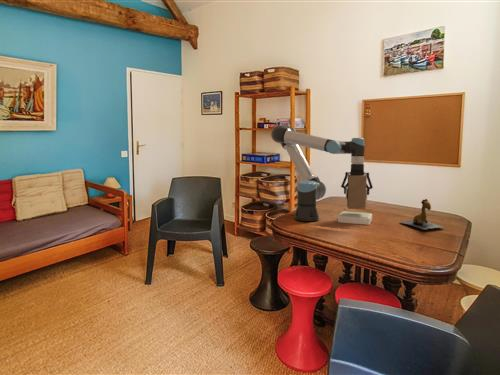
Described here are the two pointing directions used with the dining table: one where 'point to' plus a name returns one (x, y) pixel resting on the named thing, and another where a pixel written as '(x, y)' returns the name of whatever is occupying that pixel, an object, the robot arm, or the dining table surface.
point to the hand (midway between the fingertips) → (356, 199)
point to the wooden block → (356, 192)
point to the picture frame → (355, 218)
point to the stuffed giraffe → (422, 218)
